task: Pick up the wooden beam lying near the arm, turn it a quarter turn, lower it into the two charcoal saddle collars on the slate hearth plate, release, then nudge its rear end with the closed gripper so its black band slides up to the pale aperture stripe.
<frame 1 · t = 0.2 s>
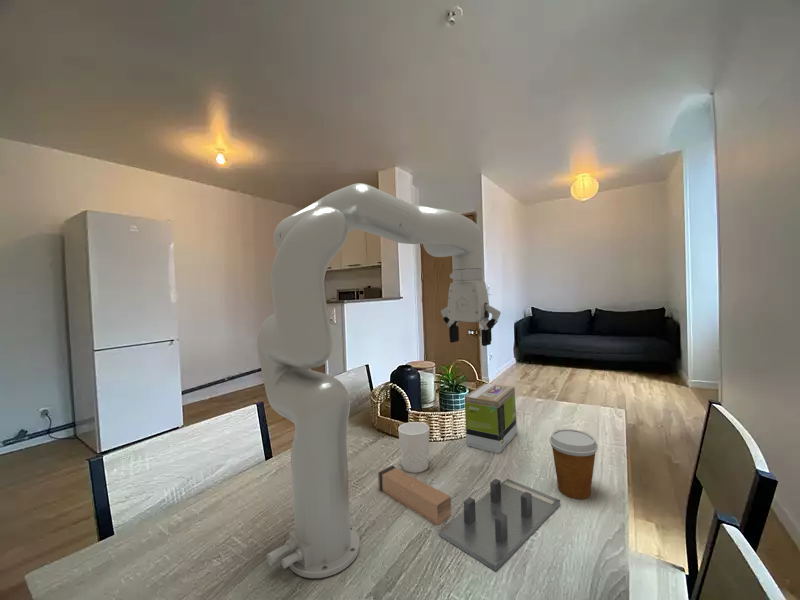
hand: (469, 343, 93), 31 cm above the table, tool pointing down, fingers open, 9 cm apart
tea box: (492, 441, 105), on the table
white cup: (415, 466, 92), on the table
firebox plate: (502, 519, 70), on the table
disposable coffee cup: (574, 491, 79), on the table
wooden beam: (412, 501, 77), on the table
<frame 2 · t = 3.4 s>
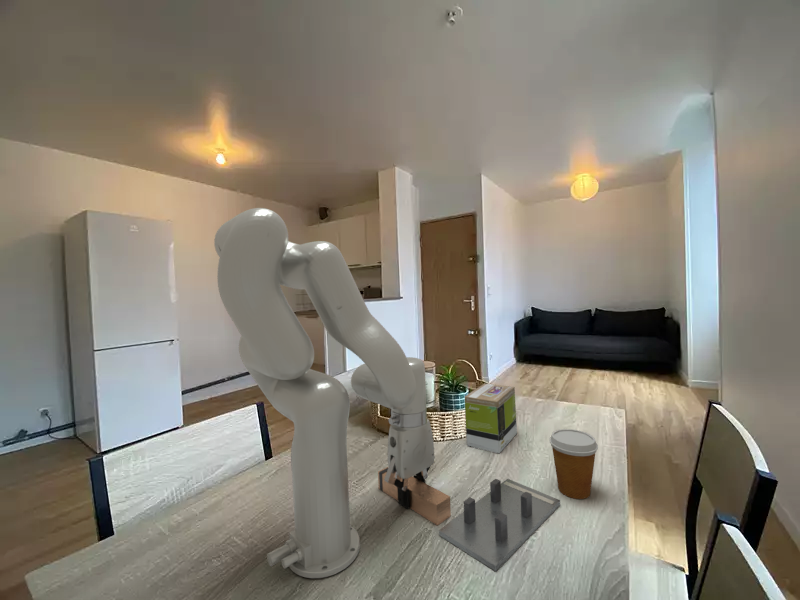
hand: (412, 499, 77), 0 cm above the table, tool pointing down, fingers closed on wooden beam, 4 cm apart
wooden beam: (412, 501, 77), on the table, touching gripper
everything else where it was.
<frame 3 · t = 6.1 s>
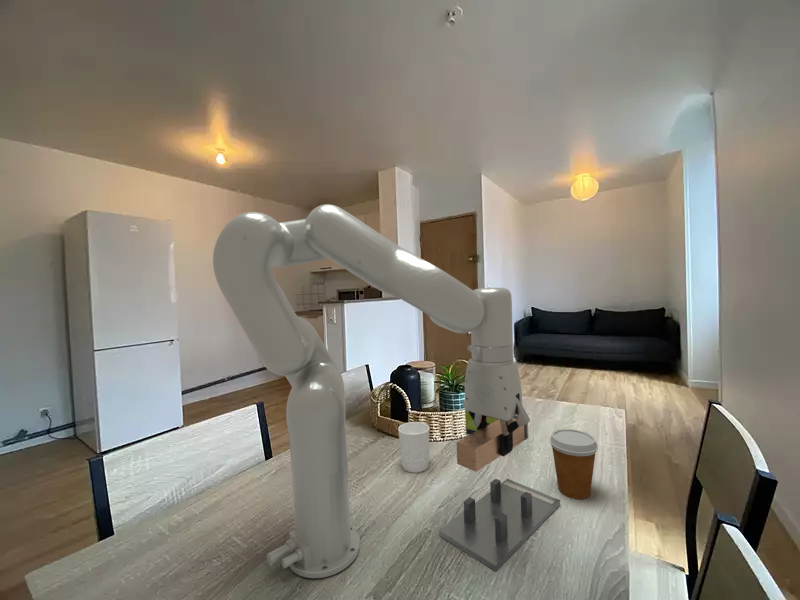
hand: (494, 448, 68), 15 cm above the table, tool pointing down, fingers closed on wooden beam, 4 cm apart
wooden beam: (495, 449, 68), point 14 cm above the table, touching gripper
everything else where it was.
when the fingers open (3 cm above the table, at t = 8.5 s): wooden beam drops 1 cm, resting on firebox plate.
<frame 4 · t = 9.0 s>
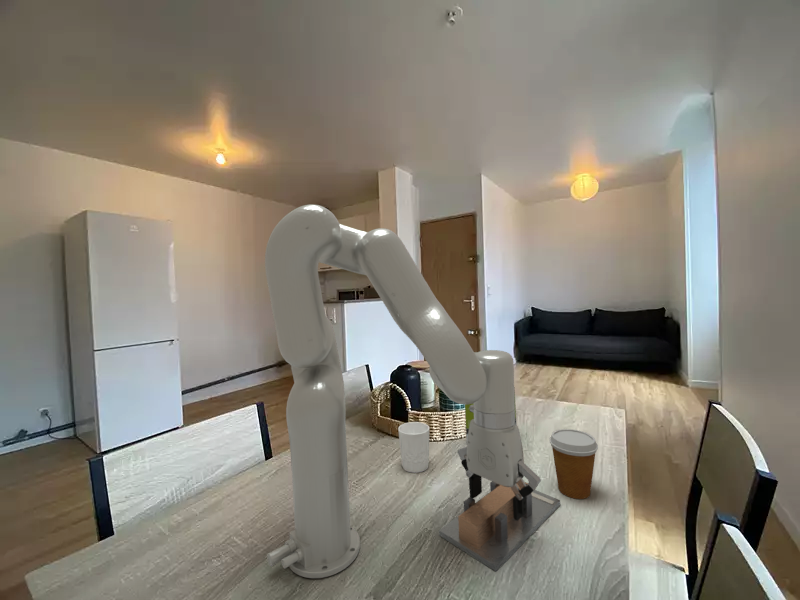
hand: (496, 505, 69), 4 cm above the table, tool pointing down, fingers open, 9 cm apart
wooden beam: (496, 519, 69), point 1 cm above the table, touching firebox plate
everything else where it was.
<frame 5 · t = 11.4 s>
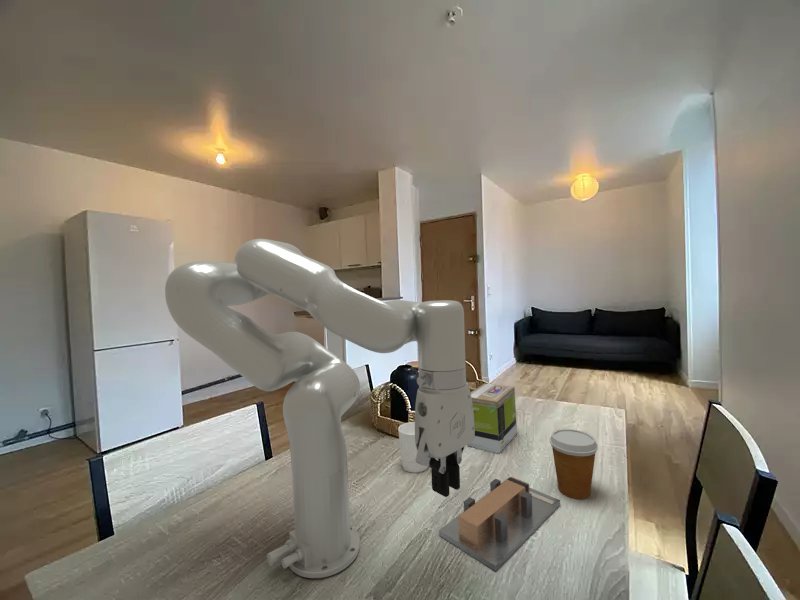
hand: (446, 488, 58), 13 cm above the table, tool pointing down, fingers closed
nothing on the table moved.
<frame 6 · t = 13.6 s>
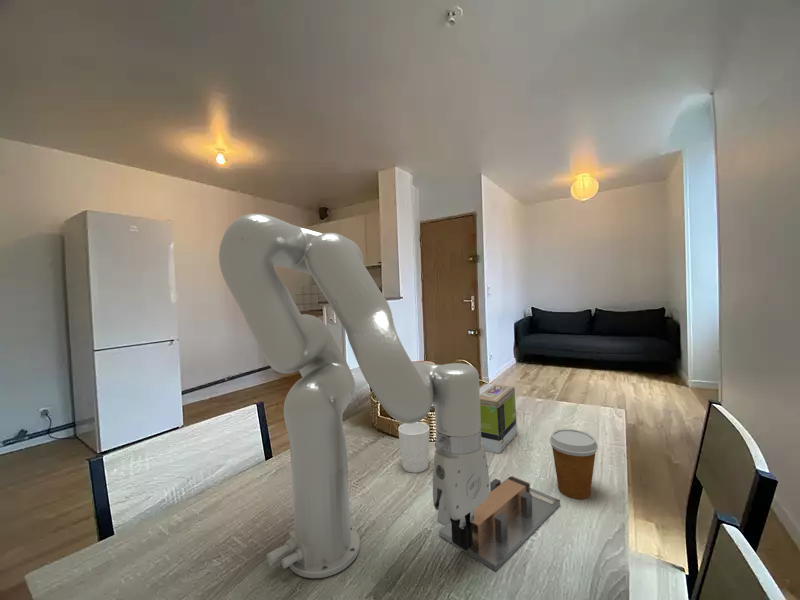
hand: (462, 544, 61), 2 cm above the table, tool pointing down, fingers closed
wooden beam: (497, 518, 69), point 1 cm above the table, touching gripper
everything else where it was.
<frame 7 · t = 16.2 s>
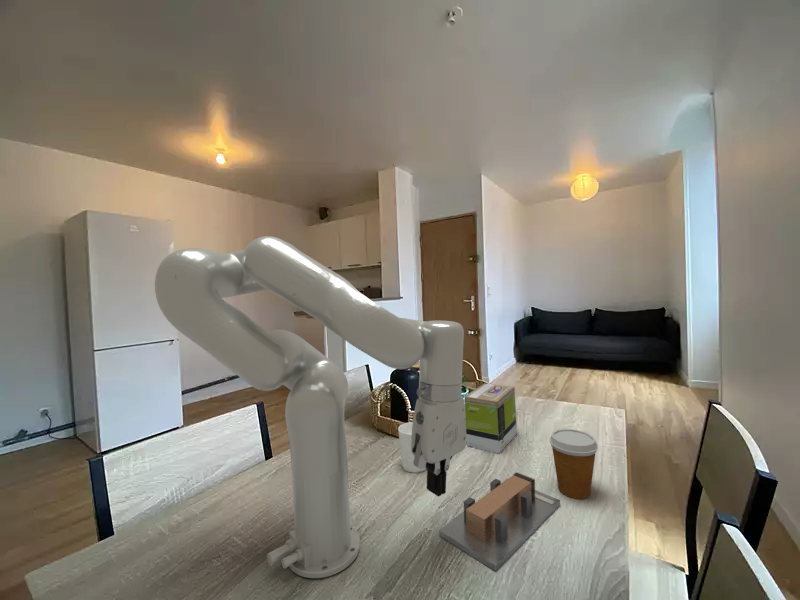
hand: (435, 491, 65), 9 cm above the table, tool pointing down, fingers closed
wooden beam: (503, 513, 71), point 1 cm above the table, touching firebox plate
everything else where it was.
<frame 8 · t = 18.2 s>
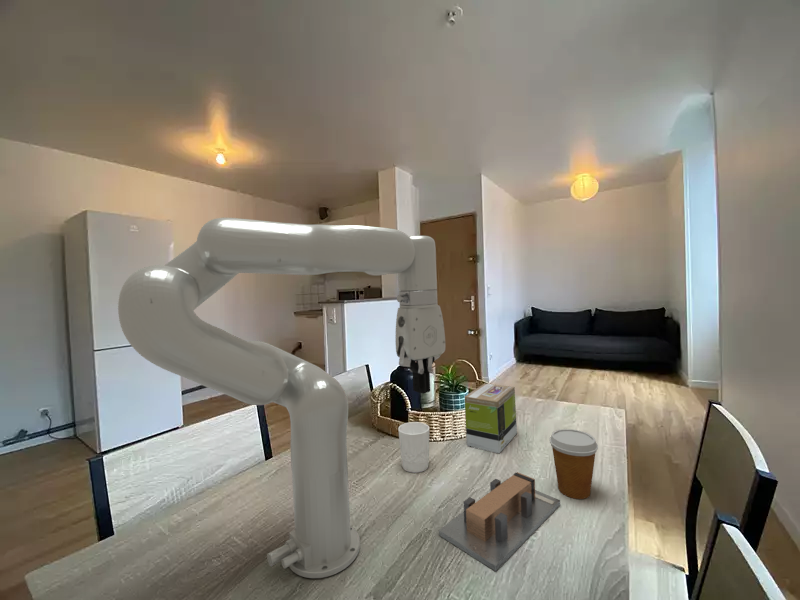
hand: (421, 391, 72), 25 cm above the table, tool pointing down, fingers closed
nothing on the table moved.
at the end: wooden beam 2.4 cm from the target spot on the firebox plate, point 1.0 cm above the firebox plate's base; wooden beam touching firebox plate; the gripper is holding nothing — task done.
